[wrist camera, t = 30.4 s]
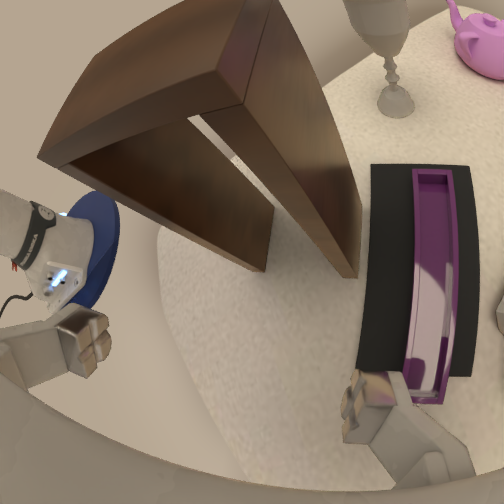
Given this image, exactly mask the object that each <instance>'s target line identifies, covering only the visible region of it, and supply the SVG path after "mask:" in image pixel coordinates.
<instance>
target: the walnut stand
mask: <svg viewBox="0 0 504 504" xmlns="http://www.w3.org/2000/svg"><path fill="white" fill-rule="evenodd" d="M195 115H200V117H201V118H202V119H203V120H204V121H205V122H206V123H207V124H208V125H209V126H210V127H211V128H212V129H213V130H214V131H215V132H216V133H217V134H218V135H219V136H220V137H221V138H222V139H223V141H225V143H226V144H227V145H228V146H229V147H230V148H231V149H232V150H233V151H234V152H235V153H236V154H237V156H238V157H239V158H240V159H241V160H242V161H243V162H244V163H245V164H246V165H247V166H248V167H249V169H250V170H251V171H252V172H253V173H254V174H255V175H256V176H257V177H258V178H259V180H260V181H261V182H262V183H263V184H264V185H265V186H266V187H267V189H268V190H269V191H270V192H271V193H272V194H273V195H274V196H275V198H276V199H277V200H278V201H279V202H280V203H281V204H282V206H283V207H284V208H285V209H286V210H287V211H288V212H289V214H290V215H291V216H292V217H293V218H294V219H295V221H296V222H297V223H298V224H299V225H300V226H301V228H302V229H303V230H304V231H305V232H306V234H307V235H308V236H309V237H310V238H311V239H312V241H313V242H314V243H315V244H316V245H317V247H318V248H319V249H320V250H321V251H322V253H323V254H324V255H325V256H326V258H327V259H328V260H329V261H330V262H331V264H332V265H333V266H334V267H335V269H336V270H337V271H338V272H339V274H340V275H341V276H342V277H343V278H356V279H357V278H358V271H359V258H360V244H361V225H362V203H361V200H360V196H359V193H358V189H357V186H356V183H355V179H354V176H353V173H352V170H351V167H350V164H349V161H348V158H347V155H346V152H345V149H344V146H343V143H342V140H341V137H340V135H339V132H338V129H337V126H336V124H335V121H334V118H333V116H332V113H331V110H330V108H329V105H328V103H327V100H326V98H325V95H324V93H323V91H322V88H321V86H320V84H319V81H318V79H317V77H316V74H315V72H314V70H313V67H312V65H311V63H310V61H309V59H308V57H307V55H306V52H305V50H304V48H303V46H302V44H301V42H300V40H299V38H298V36H297V34H296V32H295V30H294V28H293V26H292V24H291V22H290V20H289V18H288V17H287V15H286V13H285V11H284V10H283V8H282V5H281V4H280V2H279V0H184V1H182V2H180V3H178V4H176V5H174V6H172V7H170V8H168V9H166V10H165V11H163V12H161V13H159V14H157V15H156V16H154V17H152V18H150V19H149V20H147V21H146V22H144V23H142V24H141V25H139V26H137V27H136V28H134V29H132V30H131V31H129V32H128V33H126V34H125V35H123V36H122V37H120V38H119V39H117V40H116V41H115V42H113V43H112V44H110V45H109V46H107V47H106V48H105V49H103V50H102V51H101V52H99V53H98V54H96V55H95V56H94V57H93V59H92V60H91V62H90V63H89V64H88V66H87V67H86V69H85V70H84V72H83V73H82V75H81V76H80V78H79V79H78V81H77V83H76V84H75V86H74V87H73V89H72V91H71V92H70V94H69V95H68V97H67V99H66V101H65V102H64V104H63V106H62V108H61V109H60V111H59V113H58V115H57V117H56V119H55V121H54V122H53V124H52V126H51V128H50V130H49V132H48V134H47V136H46V138H45V140H44V142H43V144H42V147H41V149H40V151H39V153H38V155H37V158H38V159H40V160H42V161H43V162H45V163H47V164H49V165H50V166H52V167H54V168H57V169H58V170H60V171H62V172H63V173H65V174H67V175H69V176H71V177H73V178H74V179H76V180H78V181H80V182H82V183H84V184H86V185H88V186H89V187H91V188H93V189H95V190H97V191H99V192H100V193H102V194H104V195H106V196H108V197H110V198H112V199H113V200H115V201H117V202H119V203H121V204H123V205H125V206H127V207H128V208H130V209H132V210H134V211H136V212H138V213H140V214H142V215H144V216H146V217H148V218H150V219H151V220H153V221H155V222H157V223H159V224H161V225H163V226H165V227H166V228H168V229H170V230H172V231H174V232H176V233H178V234H180V235H182V236H184V237H186V238H188V239H190V240H191V241H193V242H195V243H197V244H199V245H201V246H203V247H205V248H207V249H209V250H211V251H213V252H215V253H217V254H219V255H221V256H223V257H225V258H227V259H229V260H231V261H232V262H234V263H236V264H238V265H240V266H242V267H244V268H246V269H248V270H250V271H252V272H265V266H266V259H267V253H268V246H269V240H270V233H271V227H272V220H273V213H274V206H273V205H272V204H271V203H270V202H269V201H268V200H267V198H266V197H265V196H264V195H263V194H262V193H261V192H260V191H259V190H258V189H257V188H256V187H255V186H254V185H253V184H252V183H251V182H250V181H249V180H248V179H247V178H246V177H245V176H244V175H243V173H242V172H241V171H240V170H239V169H238V168H237V167H236V166H235V165H234V164H233V163H232V162H231V161H230V160H229V159H228V158H227V157H226V156H225V155H224V154H223V153H222V152H221V151H220V150H219V149H217V147H216V146H215V145H214V144H213V143H212V142H211V141H210V140H209V139H208V138H207V137H206V136H205V135H203V134H202V132H201V131H200V130H199V129H197V128H196V127H195V126H194V125H193V124H192V123H191V122H190V121H189V120H188V119H187V118H188V117H191V116H195Z"/></svg>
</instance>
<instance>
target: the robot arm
mask: <svg viewBox="0 0 504 504" xmlns="http://www.w3.org/2000/svg"><path fill="white" fill-rule="evenodd" d="M93 243H94V230H93V226H92V223H91V222H90V221H89V220H88V219H79V218H73V217H69V216H66V213H61V214H58V213H55V212H54V211H52V210H51V209H48V208H47V207H45V206H42V205H40V204H38V203H36V202H33V201H30V202H28V201H26V200H24V199H21V198H19V197H17V196H15V195H13V194H11V193H9V192H7V191H5V190H1V189H0V255H3V256H6V257H9V258H11V261H12V270H13V268H14V267H15V271H17V265H18V266H19V267H20V268H22V269H23V270H24V271H25V274H26V277H27V280H28V283H29V286H30V288H31V291H32V292H31V293H30V294H29V295H28V296H27V297H24V296H19V295H13V296H11V297H9V298H8V299H7V301H6V302H5V303H4V305H3V307H2V309H1V311H0V317H1V315H2V312H3V310H4V309H5V307H6V305H7V304H8V302H9V301H10V300H11V299H14V298H18V299H22V300H28V299H30V298H31V297H32V296H33V295H34V296H35V297H37V298H38V299H40V300H43V301H46V305H47V308H48V310H49V312H50V313H51V314H54V315H52V316H51V317H50V318H48V319H47V320H46V321H36V322H31V323H26V324H21V325H16V326H11V327H6V328H1V329H0V504H504V468H501V469H498V470H495V471H491V472H488V473H484V474H481V475H477V476H476V472H475V469H474V467H473V464H472V461H471V458H470V455H469V452H468V450H467V447H466V446H465V445H464V444H463V443H462V442H460V441H459V440H458V439H457V438H456V437H454V436H453V435H452V434H451V433H449V432H448V431H447V430H446V429H445V428H443V427H442V426H441V425H440V424H439V423H437V422H436V421H435V420H434V419H433V418H431V417H430V416H429V415H428V414H427V413H425V412H424V411H423V410H422V409H420V408H419V407H418V406H414V405H413V403H412V400H411V397H410V394H409V391H408V388H407V385H406V383H405V380H404V377H403V375H402V373H401V372H400V371H374V370H363V369H355V371H354V372H353V374H352V376H351V386H350V387H348V388H347V389H346V390H345V393H344V395H343V399H342V403H341V417H342V418H343V419H344V420H345V422H344V424H343V426H342V435H343V443H348V444H364V445H369V447H370V449H371V450H372V451H373V453H374V454H375V455H376V457H377V458H378V459H379V461H380V462H381V463H382V465H383V466H384V468H385V469H386V470H387V472H388V473H389V474H390V476H391V477H392V478H393V480H394V481H395V482H396V485H395V486H394V487H393V488H392V489H391V490H381V491H319V490H305V489H294V488H285V487H277V486H270V485H263V484H257V483H251V482H246V481H240V480H235V479H231V478H226V477H222V476H217V475H213V474H209V473H205V472H202V471H198V470H194V469H191V468H187V467H184V466H181V465H178V464H174V463H171V462H168V461H165V460H162V459H160V458H157V457H154V456H151V455H149V454H146V453H143V452H141V451H138V450H136V449H133V448H131V447H128V446H126V445H124V444H121V443H119V442H117V441H114V440H112V439H110V438H108V437H106V436H104V435H102V434H99V433H97V432H95V431H93V430H91V429H89V428H87V427H85V426H83V425H82V424H80V423H78V422H76V421H74V420H72V419H71V418H69V417H67V416H65V415H63V414H62V413H60V412H58V411H57V410H55V409H53V408H52V407H50V406H48V405H47V404H45V403H44V402H42V401H41V400H39V399H37V398H36V397H34V396H32V395H31V394H30V393H29V392H28V388H30V387H33V386H36V385H38V384H41V383H43V382H45V381H48V380H50V379H53V378H55V377H57V376H60V375H62V374H64V373H67V372H68V371H70V372H73V373H75V374H77V375H79V376H82V377H84V378H86V379H87V378H88V377H89V376H90V375H91V374H92V373H93V372H94V371H95V370H96V368H97V363H98V362H101V361H104V360H105V359H106V358H107V356H108V355H109V352H110V350H111V344H112V341H111V336H110V334H109V333H108V331H107V328H108V327H109V321H108V317H107V316H106V315H105V314H102V313H100V312H97V311H94V310H92V309H89V308H86V307H83V306H81V305H78V304H76V303H70V304H68V305H67V306H65V307H64V308H62V307H63V306H64V305H65V304H66V303H67V302H68V301H69V300H70V299H71V298H72V297H73V296H74V295H75V294H76V293H77V292H78V291H79V290H80V289H81V288H82V287H83V286H84V285H85V283H86V278H87V268H88V264H89V261H90V258H91V254H92V250H93ZM61 308H62V309H61ZM60 309H61V310H60Z"/></svg>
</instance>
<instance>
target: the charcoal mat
mask: <svg viewBox="0 0 504 504" xmlns="http://www.w3.org/2000/svg"><path fill="white" fill-rule="evenodd" d="M412 169H441V170H452V176H453V183H454V191H455V200H456V211H457V224H458V246H459V282H458V304H457V317H456V328H455V337H454V345H453V353H452V359H451V365H450V371H449V376H457V377H471V373H472V367H473V361H474V354H475V346H476V337H477V327H478V314H479V292H480V260H479V239H478V226H477V215H476V206H475V198H474V191H473V185H472V179H471V173H470V168H469V166H461V165H438V164H371V218H370V243H369V260H368V273H367V285H366V295H365V304H364V313H363V321H362V329H361V336H360V343H359V350H358V356H357V362H356V368H355V369H363V370H374V371H400V372H401V369H402V363H403V357H404V351H405V344H406V337H407V329H408V321H409V311H410V300H411V287H412V270H413V198H412Z"/></svg>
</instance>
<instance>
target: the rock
mask: <svg viewBox="0 0 504 504" xmlns="http://www.w3.org/2000/svg"><path fill="white" fill-rule="evenodd" d="M496 316H497V321H498V327H499V330H500V331H501V333H502V334H503V335H504V295H503V298H502V300H501V302H500V304H499V306H498V308H497V310H496Z"/></svg>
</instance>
